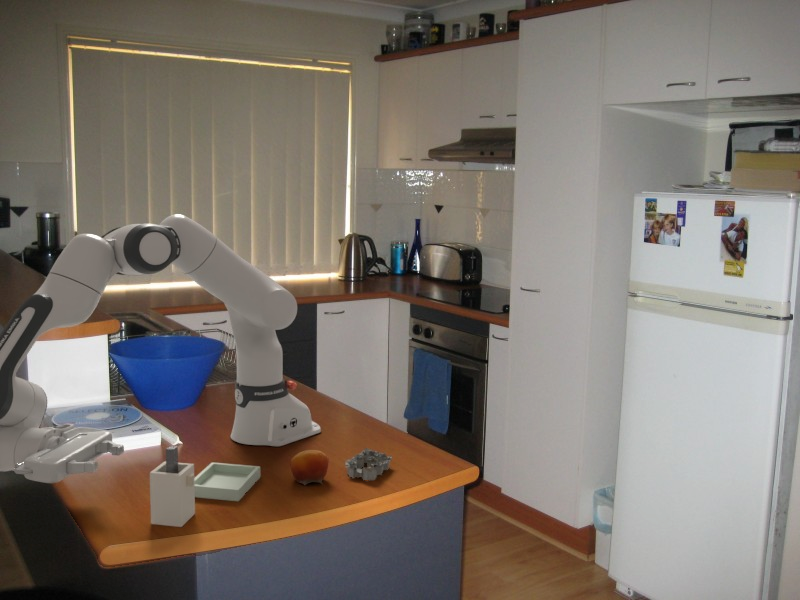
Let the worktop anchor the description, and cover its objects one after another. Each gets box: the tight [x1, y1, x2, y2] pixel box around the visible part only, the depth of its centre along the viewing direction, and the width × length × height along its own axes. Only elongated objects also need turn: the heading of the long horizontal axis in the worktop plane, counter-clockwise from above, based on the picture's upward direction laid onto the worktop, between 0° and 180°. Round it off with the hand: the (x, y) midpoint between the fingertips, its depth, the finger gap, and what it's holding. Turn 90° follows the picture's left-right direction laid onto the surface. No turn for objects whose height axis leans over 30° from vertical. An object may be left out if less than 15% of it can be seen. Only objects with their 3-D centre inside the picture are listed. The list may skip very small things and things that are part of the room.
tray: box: [194, 462, 261, 502], centre depth 166 cm, size 13×11×2 cm
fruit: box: [290, 449, 330, 486], centre depth 170 cm, size 8×8×8 cm
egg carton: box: [344, 447, 393, 481], centre depth 176 cm, size 11×8×4 cm
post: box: [165, 445, 179, 474], centre depth 150 cm, size 2×2×14 cm
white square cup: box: [149, 460, 196, 528], centre depth 150 cm, size 6×7×10 cm
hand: (109, 458), depth 151 cm, fingers open, 8 cm apart
